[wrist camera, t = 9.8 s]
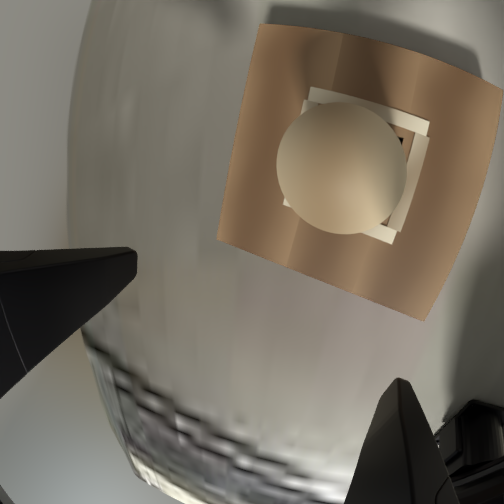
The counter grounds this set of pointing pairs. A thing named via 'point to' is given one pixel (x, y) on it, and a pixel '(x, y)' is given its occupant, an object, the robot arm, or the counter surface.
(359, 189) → the peg
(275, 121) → the seat block
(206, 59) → the counter surface
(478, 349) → the counter surface
